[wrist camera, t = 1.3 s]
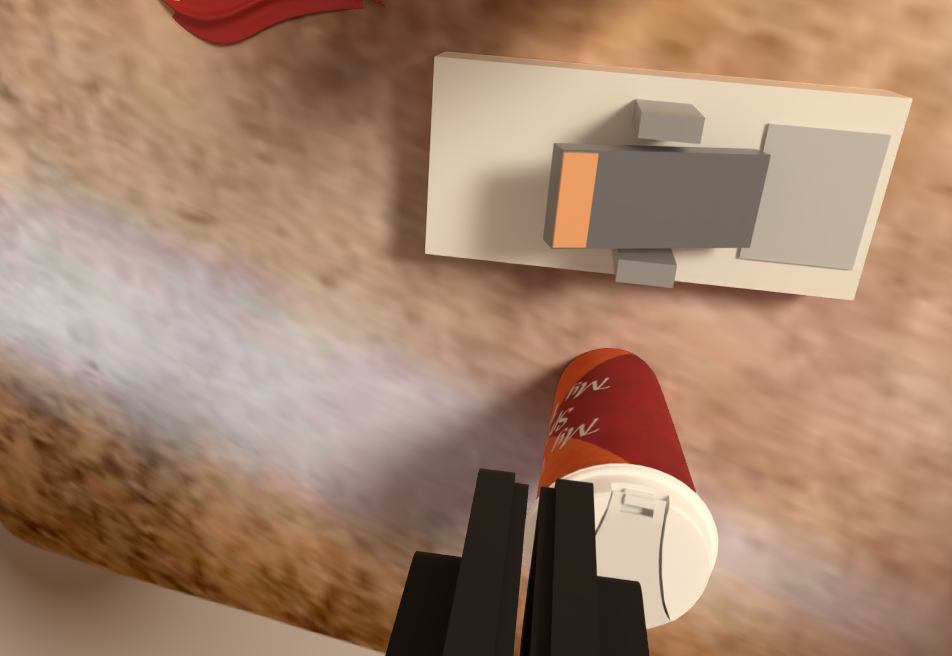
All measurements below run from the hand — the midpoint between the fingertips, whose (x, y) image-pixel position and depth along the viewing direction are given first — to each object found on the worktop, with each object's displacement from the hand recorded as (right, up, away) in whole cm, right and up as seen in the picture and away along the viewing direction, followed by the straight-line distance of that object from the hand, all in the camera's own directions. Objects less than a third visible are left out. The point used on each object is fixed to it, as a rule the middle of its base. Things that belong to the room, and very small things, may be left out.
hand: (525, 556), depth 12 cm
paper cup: (+6, 0, +31) cm, 32 cm away
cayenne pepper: (-11, +19, +26) cm, 33 cm away
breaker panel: (+7, +11, +26) cm, 29 cm away
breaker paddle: (+7, +9, +21) cm, 23 cm away
